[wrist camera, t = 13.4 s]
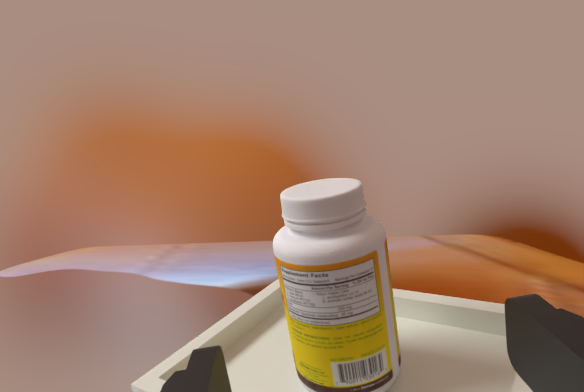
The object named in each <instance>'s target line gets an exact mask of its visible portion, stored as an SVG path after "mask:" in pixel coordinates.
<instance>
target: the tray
mask: <svg viewBox="0 0 584 392" xmlns="http://www.w3.org/2000/svg"><path fill="white" fill-rule="evenodd" d="M393 297H394V305H395V314H396V322H397V331H398V339H399V346H400V355H401V369H400V373H399V375H398V377H397V379H396V381H395V382H394V383H393V385H392V386H391V387H390V388H389V389H387V390H386V391H385V392H533V391H532V390H531V389H530V388H529V386H528V385H527V384H526V383H525V382H524V381H523V380H522V378H521V377H520V376H519V375H518V374H517V372H516V371H515V370H514V368H513V366H512V364H511V362H510V359H509V356H508V352H507V342H506V324H505V304H498V303H491V302H484V301H477V300H470V299H463V298H456V297H449V296H442V295H435V294H428V293H421V292H413V291H406V290H399V289H393ZM217 345H220V346H221V348H222V351H223V355H224V359H225V364H226V368H227V373H228V377H229V382H230V386H231V390H232V392H309V391H307V390H306V389H305V388H304V386H303V385H302V384H301V382H300V380H299V378H298V375H297V371H296V367H295V362H294V357H293V351H292V345H291V340H290V335H289V330H288V325H287V320H286V314H285V309H284V304H283V299H282V294H281V289H280V283H279V279H277V280H276V281H274V282H273V283H272V284H270V285H269V286H267V287H266V288H265V289H263V290H262V291H261V292H259V293H258V294H256V295H255V296H254V297H252V298H251V299H249V300H248V301H247V302H245V303H244V304H242V305H241V306H240V307H238V308H237V309H235V310H234V311H233V312H231V313H230V314H228V315H227V316H226V317H224V318H223V319H221V320H220V321H219V322H217V323H216V324H214V325H213V326H212V327H210V328H209V329H207V330H206V331H205V332H203V333H202V334H200V335H199V336H198V337H196V338H195V339H193V340H192V341H191V342H189V343H188V344H187V345H185V346H184V347H182V348H181V349H180V350H178V351H177V352H175V353H174V354H173V355H171V356H170V357H168V358H167V359H165V360H164V361H163V362H161V363H160V364H158V365H157V366H156V367H154V368H153V369H151V370H150V371H149V372H147V373H146V374H145V375H143V376H142V377H140V378H139V379H138V380H136V381H135V382H133V383H132V384H131V387H132V390H133V392H160V391H161V389H162V386H163V384H164V383H165V382H166V381H167V380H168V379H169V378H170V377H171V376H172V374H173V373H174V372H175V371H180V370H186V368H187V365H188V362H189V359H190V356H191V353H192V351H193V350H194V349H199V348H205V347H211V346H217Z"/></svg>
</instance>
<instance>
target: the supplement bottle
mask: <svg viewBox="0 0 584 392" xmlns="http://www.w3.org/2000/svg"><path fill="white" fill-rule="evenodd" d="M280 197H281V205H282V217H283V218H284V223H285V226H284V227H283V228H281V229H280V230H279V231H278V232H277V234H276V235H275V237H274V240H273V251H274V257H275V262H276V267H277V273H278V278H279V283H280V289H281V294H282V299H283V304H284V309H285V314H286V320H287V325H288V330H289V335H290V340H291V345H292V351H293V357H294V362H295V367H296V371H297V375H298V378H299V380H300V382H301V384H302V385H303V386H304V388H305V389H306V390H307V391H309V392H385V391H386V390H387V389H389V388H390V387H391V386H392V385H393V383H394V382H395V381H396V379H397V377H398V375H399V373H400V369H401V355H400V346H399V339H398V331H397V322H396V314H395V305H394V297H393V289H392V281H391V273H390V265H389V257H388V248H387V240H386V233H385V228H384V226H383V224H382V223H381V222H380V220H379V219H377V218H375V217H374V216H372V215H369V214H366V208H365V206H366V202H365V200H364V194H363V187H362V184H361V182H360V181H359V180H356V179H351V178H330V179H321V180H315V181H310V182H306V183H301V184H298V185H295V186H292V187H290V188H287V189H286V190H284V191H283V192H282V193H281V195H280Z"/></svg>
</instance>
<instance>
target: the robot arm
mask: <svg viewBox="0 0 584 392" xmlns="http://www.w3.org/2000/svg"><path fill="white" fill-rule="evenodd" d="M505 324H506V342H507V352H508V356H509V359H510V362H511V364H512V366H513V368H514V370H515V371H516V372H517V374H518V375H519V376H520V377H521V378H522V380H523V381H524V382H525V383H526V384H527V385H528V386H529V388H530V389H531V390H532V391H533V392H584V318H583V317H581V316H579V315H576V314H574V313H571V312H569V311H566V310H564V309H556V308H554V307H553V306H552V305H551V304H549V303H548V302H547V301H545V300H544V299H543V298H541V297H540V296H539V295H537V294H531V295H525V296H519V297H512V298H508V299H506V301H505ZM160 392H232V390H231V386H230V382H229V377H228V373H227V368H226V364H225V359H224V355H223V351H222V348H221V346H220V345H217V346H211V347H205V348H199V349H194V350H193V351H192V353H191V356H190V359H189V362H188V365H187V368H186V370H180V371H175V372H174V373H173V374H172V376H171V377H170V378H169V379H168V380H167V381H166V382H165V383H164V384H163V386H162V389H161V391H160Z"/></svg>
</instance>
